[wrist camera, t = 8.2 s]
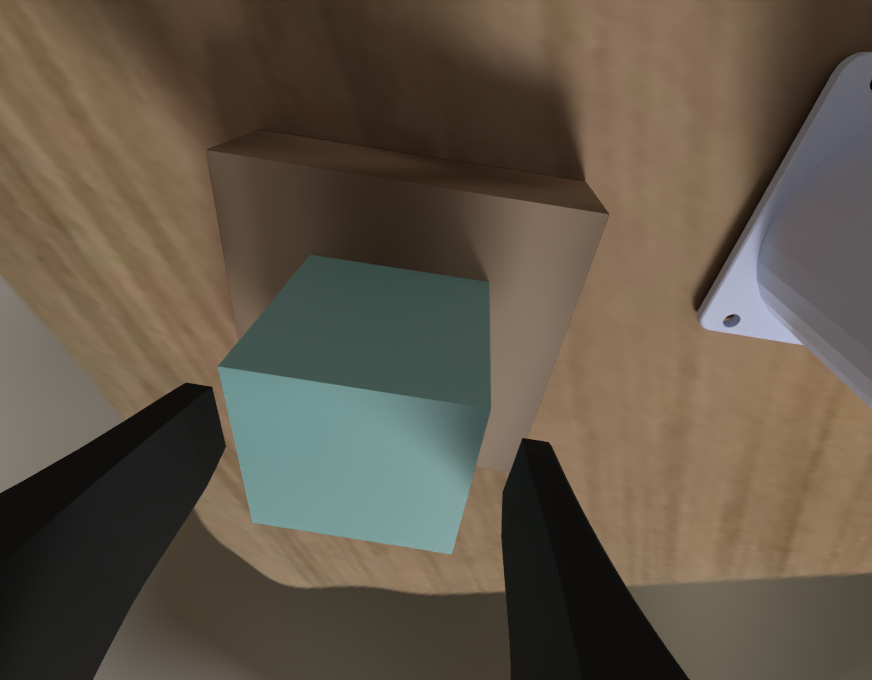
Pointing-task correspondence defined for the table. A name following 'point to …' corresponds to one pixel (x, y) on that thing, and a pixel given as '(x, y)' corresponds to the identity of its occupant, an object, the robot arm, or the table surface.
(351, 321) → the teal cube
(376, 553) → the table surface
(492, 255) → the walnut base block
